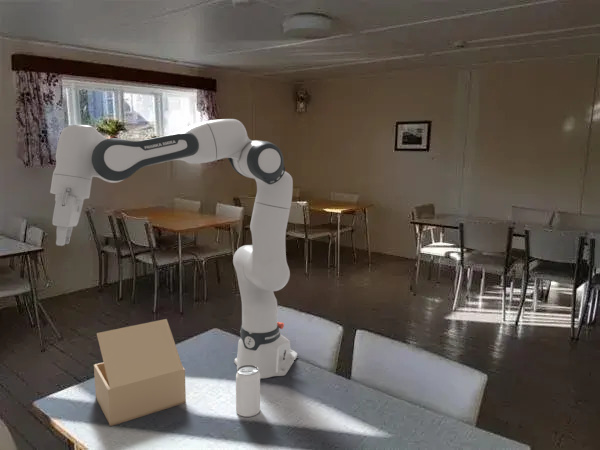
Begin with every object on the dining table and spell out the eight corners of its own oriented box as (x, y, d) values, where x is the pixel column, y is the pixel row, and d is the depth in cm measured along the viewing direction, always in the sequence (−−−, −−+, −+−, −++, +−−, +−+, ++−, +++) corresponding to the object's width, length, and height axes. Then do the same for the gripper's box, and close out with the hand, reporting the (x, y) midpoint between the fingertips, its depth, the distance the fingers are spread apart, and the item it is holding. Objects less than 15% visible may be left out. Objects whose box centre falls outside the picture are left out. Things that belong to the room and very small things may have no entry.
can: (256, 419, 124) (256, 377, 122) (232, 416, 125) (232, 374, 123) (262, 406, 130) (263, 365, 128) (240, 402, 131) (240, 362, 129)
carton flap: (96, 333, 126) (96, 333, 126) (166, 319, 137) (166, 318, 136) (110, 389, 118) (110, 388, 118) (183, 369, 129) (183, 369, 128)
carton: (95, 397, 132) (93, 364, 131) (165, 378, 144) (164, 347, 142) (110, 426, 119) (108, 390, 118) (185, 402, 131) (184, 369, 129)
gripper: (80, 188, 108) (72, 248, 108) (87, 193, 128) (80, 244, 127) (50, 184, 106) (41, 245, 106) (62, 189, 126) (54, 241, 125)
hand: (62, 244), depth 117 cm, fingers open, 8 cm apart
